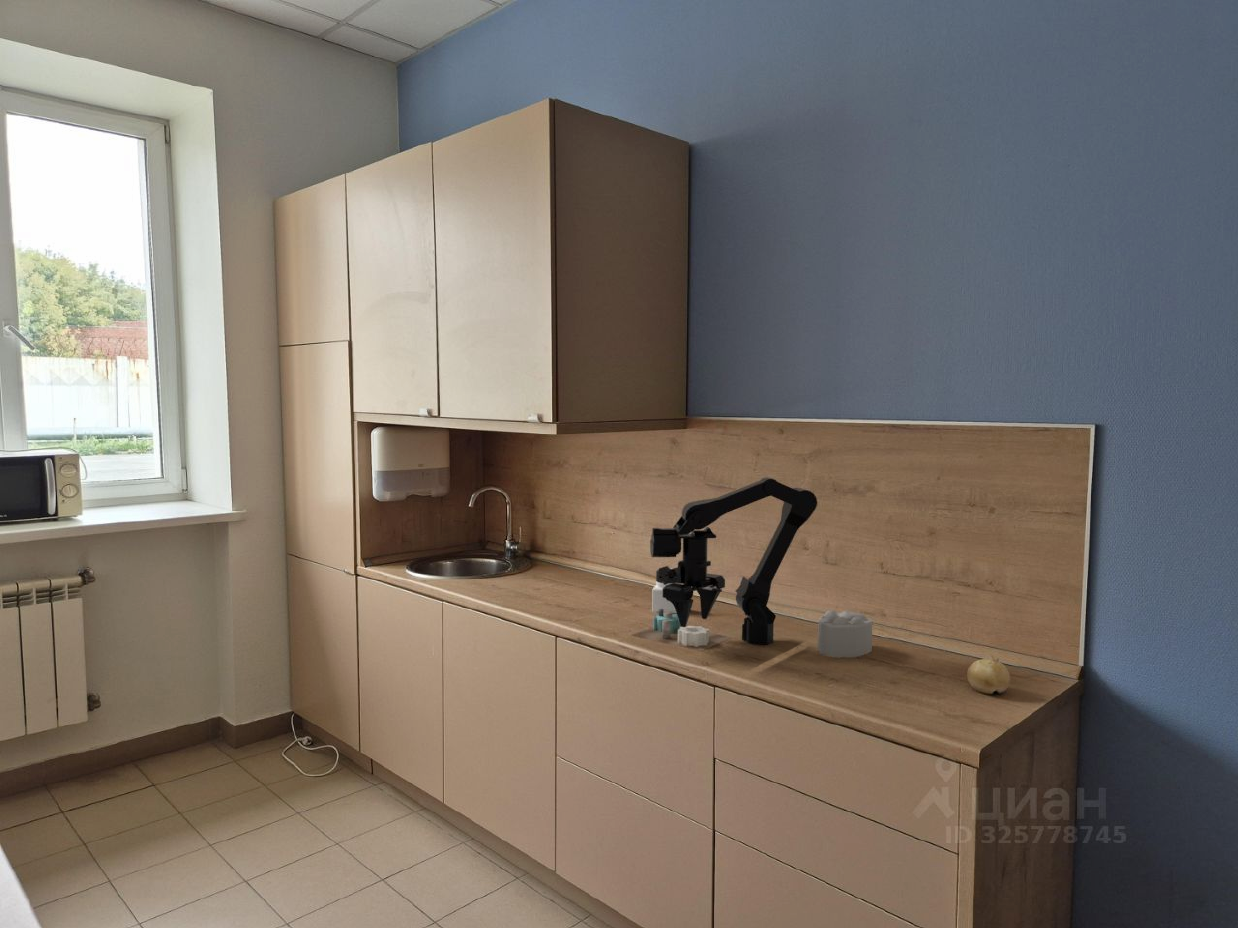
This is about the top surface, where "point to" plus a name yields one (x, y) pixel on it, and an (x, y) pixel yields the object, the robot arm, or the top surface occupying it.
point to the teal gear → (674, 620)
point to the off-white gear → (693, 636)
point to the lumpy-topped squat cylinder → (844, 634)
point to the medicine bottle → (657, 598)
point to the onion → (988, 676)
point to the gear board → (676, 635)
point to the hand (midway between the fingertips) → (694, 622)
